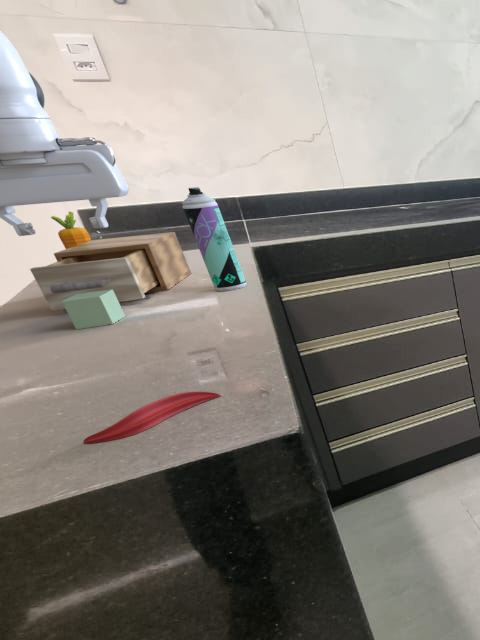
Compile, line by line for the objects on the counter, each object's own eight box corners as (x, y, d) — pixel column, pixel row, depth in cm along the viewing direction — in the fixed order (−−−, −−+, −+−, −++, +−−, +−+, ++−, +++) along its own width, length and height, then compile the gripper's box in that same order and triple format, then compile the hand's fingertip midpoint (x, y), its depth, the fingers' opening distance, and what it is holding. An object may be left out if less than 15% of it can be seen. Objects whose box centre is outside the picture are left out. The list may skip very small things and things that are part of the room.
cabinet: (168, 290, 111) (147, 243, 107) (77, 301, 106) (53, 253, 102) (191, 273, 124) (174, 231, 120) (112, 283, 119) (92, 240, 115)
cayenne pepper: (84, 450, 52) (75, 434, 52) (81, 435, 55) (72, 419, 55) (227, 403, 60) (221, 388, 60) (218, 392, 63) (212, 378, 63)
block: (76, 329, 89) (61, 301, 87) (90, 320, 93) (76, 293, 91) (113, 324, 91) (99, 296, 89) (125, 315, 95) (112, 289, 93)
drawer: (134, 304, 98) (115, 262, 95) (39, 317, 94) (15, 274, 90) (170, 281, 114) (154, 244, 111) (89, 291, 109) (71, 253, 106)
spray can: (219, 286, 112) (181, 187, 103) (249, 282, 114) (214, 185, 105) (212, 292, 107) (171, 190, 99) (243, 288, 109) (206, 187, 101)
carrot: (78, 279, 125) (46, 214, 119) (80, 276, 128) (49, 213, 122) (106, 275, 128) (76, 211, 122) (107, 271, 131) (78, 210, 125)
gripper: (114, 136, 88) (150, 221, 93) (-56, 145, 80) (-5, 236, 86) (96, 136, 82) (136, 226, 88) (-87, 145, 75) (-31, 242, 81)
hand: (65, 231), depth 87 cm, fingers open, 8 cm apart
